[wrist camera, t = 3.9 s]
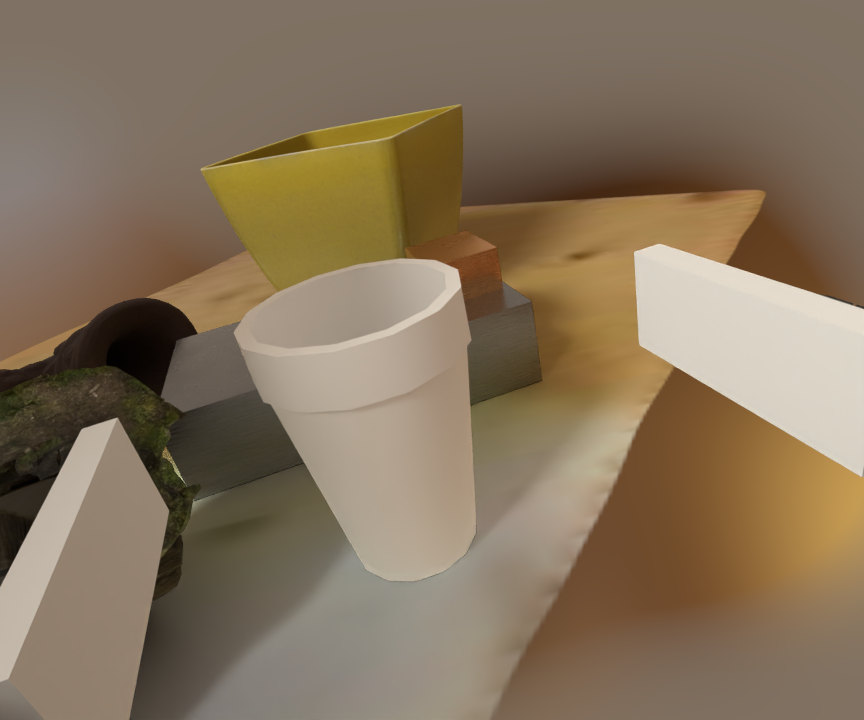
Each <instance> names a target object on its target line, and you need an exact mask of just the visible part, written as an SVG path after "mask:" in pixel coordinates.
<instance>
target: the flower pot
mask: <svg viewBox="0 0 864 720" xmlns="http://www.w3.org/2000/svg"><path fill="white" fill-rule="evenodd" d="M462 119H463V117H462V105H454V106H448V107H443V108H437V109H432V110H426V111H421V112H415V113H409V114H404V115H398V116H393V117H387V118H381V119H375V120H370V121H364V122H359V123H353V124H348V125H343V126H337V127H333V128H327V129H322V130H317V131H312V132H308V133H303V134H301V135H297V136H294V137H291V138H288V139H285V140H282V141H279V142H276V143H273V144H270V145H267V146H264V147H261V148H258V149H255V150H252V151H249V152H246V153H243V154H241V155H238V156H235V157H232V158H229V159H226V160H223V161H220V162H217V163H215V164H212V165H209V166H206V167H203V168H201V171H202V173H203V175H204V177H205V179H206V181H207V183H208V185H209V187H210V189H211V191H212V192H213V194H214V196H215V198H216V200H217V201H218V203H219V205H220V206H221V208H222V210H223V212H224V213H225V215H226V217H227V219H228V220H229V222H230V224H231V225H232V227H233V228H234V230H235V232H236V233H237V235H238V237H239V238H240V240H241V241H242V243H243V244H244V246H245V247H246V249H247V250H248V252H249V253H250V255H251V256H252V258H253V259H254V260H255V262H256V263H257V265H258V266H259V268H260V269H261V270H262V272H263V273H264V274H265V276H266V277H267V278H268V280H269V281H270V282H271V283H272V285H273V286H274V287H275V289H276V290H277V291H278V292H279V291H282V290H284V289H286V288H289V287H291V286H293V285H296V284H298V283H301V282H303V281H305V280H308V279H310V278H312V277H315V276H317V275H321V274H325V273H328V272H332V271H336V270H339V269H343V268H347V267H350V266H354V265H358V264H363V263H371V262H378V261H386V260H393V259H400V258H401V259H407V255H406V251H405V248H406V247H410V246H413V245H417V244H420V243H424V242H427V241H431V240H434V239H438V238H441V237H445V236H448V235H451V234H455V233H457V232H458V223H459V214H460V204H461V190H462V171H463V170H462V169H463V120H462Z"/></svg>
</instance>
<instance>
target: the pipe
mask: <svg viewBox="0 0 864 720" xmlns="http://www.w3.org/2000/svg"><path fill="white" fill-rule="evenodd" d="M196 334H198V333H197V332H196V330H195V328H194V326H193V325H192V323H191V322H190V321H189V319H188V318H187V317H186V315H185V314H184V313H182V312H181V311H180V310H179V309H178V308H176V307H174V306H172V305H171V304H169V303H166V302H163V301H160V300H157V299H151V298H137V299H132V300H128V301H123V302H121V303H118V304H115V305H113V306H111V307H109V308H107V309H105V310H104V311H102V312H101V313H100V314H98V315H97V316H96V317H95V318H94V319H93V320H92V321H91V322H90V323H89V324H88V325H87V326H85V327H83V328H81V329H79V330H77V331H76V332H74V333H73V334H72V335H71V336H70V337H69V338H68V339H67V340H66V341H64V342H62V343H61V344H60V345H59V346H57V347H56V348H55V350H54V355H53V356H51V357H49V358H47V359H45V360H43V361H39V362H36V363H34V364H29V365H27V366H25V367H23V368H21V369H15V370H7V369H2V370H0V392H4V391H6V390H9V389H11V388H13V387H15V386H17V385H19V384H21V383H23V382H26V381H28V380H31V379H33V378H35V377H37V376H39V375H42V374H48V375H51V376H52V375H56V374H59V373H61V372H63V371H65V370H75V369H81V368H91V369H93V368H97V367H101V366H113V367H117V368H119V369H121V370H122V371H123V372H125V373H127V374H129V375H131V376H133V377H134V378H136V379H137V380H139V381H140V382H141V383H143V384H144V385H145V386H147V387H148V388H150V389H151V390H152V391H153V392H154V393H156V394H157V395H158V396H160V397H161V394H162V391H163V387H164V384H165V380H166V376H167V373H168V369H169V366H170V362H171V359H172V355H173V352H174V348H175V345H176V341H177V340H179V339H183V338H186V337H189V336H193V335H196Z"/></svg>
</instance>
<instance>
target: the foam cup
mask: <svg viewBox="0 0 864 720" xmlns="http://www.w3.org/2000/svg"><path fill="white" fill-rule="evenodd" d="M233 333H234V335H235V338H236V340H237V342H238V345H239V347H240V350H241V352H242V355H243V357H244V360H245V362H246V365H247V367H248V370H249V372H250V375H251V377H252V380H253V382H254V384H255V386H256V388H257V390H258V392H259V394H260V396H261V398H262V400H263V402H264V403H268V404H271V406H272V407H273V409H274V411H275V413H276V414H277V416H278V418H279V420H280V421H281V423H282V425H283V427H284V428H285V430H286V432H287V434H288V435H289V437H290V439H291V441H292V442H293V444H294V446H295V448H296V449H297V451H298V453H299V455H300V456H301V458H302V460H303V461H304V463H305V465H306V467H307V468H308V470H309V472H310V474H311V475H312V477H313V479H314V481H315V482H316V484H317V486H318V488H319V489H320V491H321V493H322V495H323V496H324V498H325V500H326V502H327V503H328V505H329V507H330V509H331V510H332V512H333V514H334V516H335V517H336V519H337V521H338V522H339V524H340V526H341V528H342V529H343V531H344V533H345V535H346V536H347V538H348V540H349V542H350V543H351V545H352V547H353V549H354V550H355V552H356V554H357V556H358V557H359V559H360V561H361V562H362V563H363V565H364V567H365V569H366V570H367V571H369V572H371V573H373V574H375V575H377V576H379V577H381V578H383V579H385V580H387V581H419V580H421V579H424V578H427V577H430V576H433V575H436V574H439V573H441V572H444V571H446V570H447V569H448V568H449V567H450V566H452V565H453V564H454V563H455V562H456V561H458V560H459V559H460V558H461V557H462V556H464V555H465V554H466V553H467V551H468V549H469V547H470V545H471V543H472V540H473V538H474V536H475V534H476V532H477V531H476V505H475V486H474V468H473V449H472V430H471V411H470V392H469V374H468V355H467V346H468V344H469V343H470V342H471V335H470V330H469V325H468V319H467V314H466V309H465V304H464V298H463V293H462V288H461V283H460V278H459V272H458V269H456V268H453V267H451V266H449V265H446V264H444V263H441V262H439V261H437V260H424V259H401V258H400V259H393V260H386V261H378V262H371V263H363V264H358V265H354V266H350V267H347V268H343V269H339V270H336V271H332V272H328V273H325V274H321V275H317V276H315V277H312V278H310V279H308V280H305V281H303V282H301V283H298V284H296V285H293V286H291V287H289V288H286V289H284V290H282V291H279V292H277V293H276V294H274V295H273V296H271V297H269V298H268V299H266V300H265V301H263V302H262V303H260V304H259V305H257V306H256V307H254V308H253V309H251V310H250V311H248V312H247V313H246V315H245V316H244V318H243V319H242V321H241V322H240V324H239V325H238V327H237V328H236V329H235V331H234V332H233Z"/></svg>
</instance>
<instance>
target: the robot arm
mask: <svg viewBox="0 0 864 720" xmlns="http://www.w3.org/2000/svg"><path fill="white" fill-rule="evenodd" d="M634 259H635V278H636V296H637V315H638V334H639V345H640V346H642V347H643V348H645V349H647V350H649V351H650V352H652V353H654V354H655V355H657V356H659V357H660V358H662V359H664V360H665V361H667V362H669V363H670V364H672V365H674V366H675V367H677V368H679V369H681V370H682V371H684V372H686V373H687V374H689V375H691V376H692V377H694V378H696V379H697V380H699V381H701V382H702V383H704V384H706V385H707V386H709V387H711V388H713V389H714V390H716V391H718V392H719V393H721V394H723V395H724V396H726V397H728V398H729V399H731V400H733V401H734V402H736V403H738V404H739V405H741V406H743V407H745V408H746V409H748V410H750V411H751V412H753V413H755V414H756V415H758V416H760V417H761V418H763V419H765V420H767V421H768V422H770V423H771V424H773V425H775V426H777V427H778V428H780V429H782V430H783V431H785V432H787V433H788V434H790V435H792V436H794V437H795V438H797V439H798V440H800V441H802V442H803V443H805V444H807V445H809V446H810V447H812V448H814V449H815V450H817V451H819V452H820V453H822V454H824V455H826V456H827V457H829V458H830V459H832V460H834V461H835V462H837V463H839V464H841V465H842V466H844V467H846V468H847V469H849V470H851V471H852V472H854V473H856V474H857V475H859V476H861V477H863V476H864V307H863V306H859V305H856V306H853V304H852V303H850V302H846V301H843V300H840V299H837V298H834V297H831V296H827V295H819V294H815V293H812V292H809V291H806V290H802V289H799V288H796V287H793V286H790V285H787V284H783V283H780V282H778V281H774V280H771V279H768V278H765V277H762V276H759V275H756V274H753V273H749V272H746V271H743V270H740V269H736V268H734V267H731V266H728V265H724V264H721V263H718V262H715V261H712V260H709V259H706V258H703V257H699V256H696V255H693V254H690V253H687V252H684V251H681V250H678V249H674V248H671V247H668V246H665V245H662V244H657V245H654V246H651V247H648V248H645V249H642V250H639V251H635V252H634ZM168 514H169V509H168V508H167V506H166V504H165V502H164V500H163V499H162V497H161V495H160V493H159V491H158V490H157V488H156V486H155V484H154V482H153V481H152V479H151V477H150V475H149V473H148V472H147V470H146V468H145V466H144V464H143V463H142V461H141V459H140V457H139V455H138V454H137V452H136V450H135V448H134V446H133V445H132V443H131V441H130V439H129V437H128V435H127V434H126V432H125V430H124V428H123V426H122V425H121V423H120V421H119V419H118V418H115V419H112V420H108V421H105V422H102V423H99V424H96V425H93V426H90V427H87V428H83V429H82V430H81V431H80V433H79V435H78V437H77V439H76V441H75V443H74V445H73V447H72V449H71V451H70V453H69V455H68V457H67V459H66V461H65V463H64V464H63V466H62V468H61V470H60V472H59V474H58V476H57V478H56V480H55V482H54V484H53V486H52V488H51V490H50V492H49V494H48V496H47V497H46V499H45V501H44V503H43V505H42V507H41V509H40V511H39V513H38V515H37V517H36V519H35V521H34V523H33V525H32V527H31V528H30V530H29V532H28V534H27V536H26V538H25V540H24V542H23V544H22V546H21V548H20V550H19V552H18V554H17V556H16V558H15V560H14V561H13V563H12V565H11V567H10V569H9V571H8V573H7V575H5V576H2V577H0V720H129V718H130V713H131V708H132V703H133V697H134V692H135V687H136V682H137V677H138V671H139V666H140V661H141V656H142V650H143V645H144V640H145V635H146V629H147V624H148V619H149V614H150V609H151V603H152V598H153V593H154V588H155V582H156V577H157V572H158V567H159V561H160V556H161V551H162V546H163V541H164V535H165V530H166V525H167V520H168Z"/></svg>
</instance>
